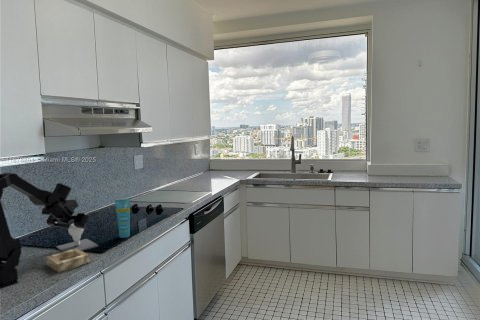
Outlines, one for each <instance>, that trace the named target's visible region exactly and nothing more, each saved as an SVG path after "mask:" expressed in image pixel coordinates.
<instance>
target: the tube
mask: <svg viewBox="0 0 480 320" xmlns="http://www.w3.org/2000/svg"><path fill="white" fill-rule="evenodd" d="M114 204H115V210H116V217H117V224H118V225H117V226H118V227H117V228H118V233H119V234H118V235H119V236H118V237H119V238H122V239H125V238H129V237H130V233H131V231H130V228H131V226H130V223H131V221H130V218H131V217H130V215H131V214H130V213H131V210H130V209H131V207H130V206H131V198H123V199H114Z"/></svg>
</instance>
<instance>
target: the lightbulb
mask: <svg viewBox="0 0 480 320" xmlns="http://www.w3.org/2000/svg"><path fill="white" fill-rule="evenodd" d="M67 230H68V234H69V235H70V236H71V237H72V240H73V242H74V245H75V246H79V245H80V240H81V238H82V237H81V236H82V235H83V233H84V230H85V229H81V228H77V227H76V226H74V223H71V224H69V228H67Z"/></svg>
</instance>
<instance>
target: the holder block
mask: <svg viewBox="0 0 480 320" xmlns="http://www.w3.org/2000/svg"><path fill="white" fill-rule="evenodd" d="M88 262H89V263H90V254H88V253H86V252H84V251H81V250H79V249H77V248H76V249H72V250H68V251H65V252H62V251H61V252H59V253H54V254H52V255H47V256H46V265H47V266H48V267H50V268H51V269H53V270H54V271H55V272H57V273H58V274H59V273H63V272H66V271H68V269H69V270H72V269H74V268H73V267H75V268H77V267H76V266H78V267H80V266H79V265H82V264H85V263H88ZM89 263H88V264H89ZM85 265H86V264H85ZM82 266H83V265H82ZM71 268H72V269H71ZM65 270H66V271H65ZM62 271H63V272H62Z"/></svg>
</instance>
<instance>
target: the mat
mask: <svg viewBox="0 0 480 320" xmlns="http://www.w3.org/2000/svg"><path fill="white" fill-rule="evenodd" d="M98 247H99V244H97V243H95V242H93V241H92V240H90V239H88V238H84V239H80V245H79V246H75V245H74V241H72V242H68V243H65V244H61V245H56V246H55V248H56V249H58V250H59V251H61V252H65V251H68V250H72V249H76V248H77V249H79V250H81V251H83V252H84V251H87V250H90V249H95V248H98Z"/></svg>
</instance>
